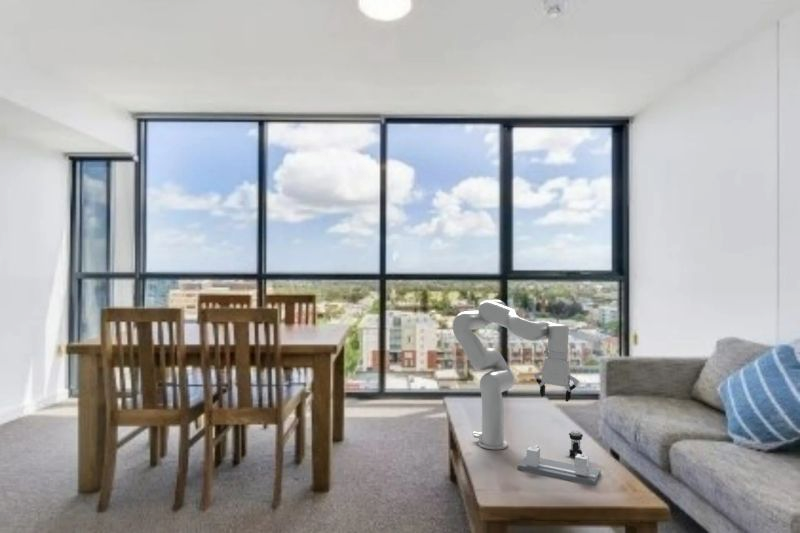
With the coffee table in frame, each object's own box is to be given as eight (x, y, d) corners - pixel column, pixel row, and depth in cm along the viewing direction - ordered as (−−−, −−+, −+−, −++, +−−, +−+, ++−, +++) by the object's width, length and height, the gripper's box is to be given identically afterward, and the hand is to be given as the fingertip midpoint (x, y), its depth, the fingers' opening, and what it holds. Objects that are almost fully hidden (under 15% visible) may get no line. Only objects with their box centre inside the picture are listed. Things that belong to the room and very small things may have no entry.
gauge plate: (517, 468, 197) (517, 449, 197) (526, 458, 208) (527, 440, 208) (594, 485, 183) (594, 464, 183) (600, 473, 193) (600, 453, 193)
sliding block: (575, 474, 188) (575, 457, 188) (579, 467, 194) (579, 451, 194) (586, 476, 186) (586, 459, 186) (590, 469, 192) (590, 453, 192)
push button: (566, 458, 209) (567, 433, 209) (564, 453, 214) (564, 429, 214) (583, 459, 208) (584, 434, 208) (580, 454, 213) (581, 430, 213)
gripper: (532, 353, 205) (530, 396, 205) (577, 360, 196) (575, 404, 196) (538, 350, 211) (536, 392, 212) (582, 357, 202) (579, 400, 203)
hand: (554, 398), depth 204 cm, fingers open, 9 cm apart
